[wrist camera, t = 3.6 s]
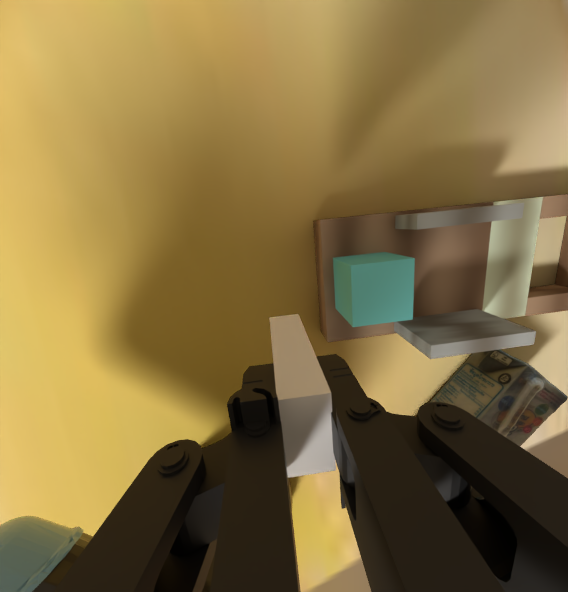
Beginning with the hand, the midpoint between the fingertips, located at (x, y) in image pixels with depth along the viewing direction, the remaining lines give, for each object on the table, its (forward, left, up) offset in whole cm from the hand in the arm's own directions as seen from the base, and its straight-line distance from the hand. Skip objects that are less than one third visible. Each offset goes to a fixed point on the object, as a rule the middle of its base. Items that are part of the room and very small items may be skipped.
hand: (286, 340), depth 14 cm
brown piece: (+19, 0, -15) cm, 24 cm away
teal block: (+8, 0, -12) cm, 14 cm away
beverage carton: (+21, -20, -15) cm, 33 cm away
